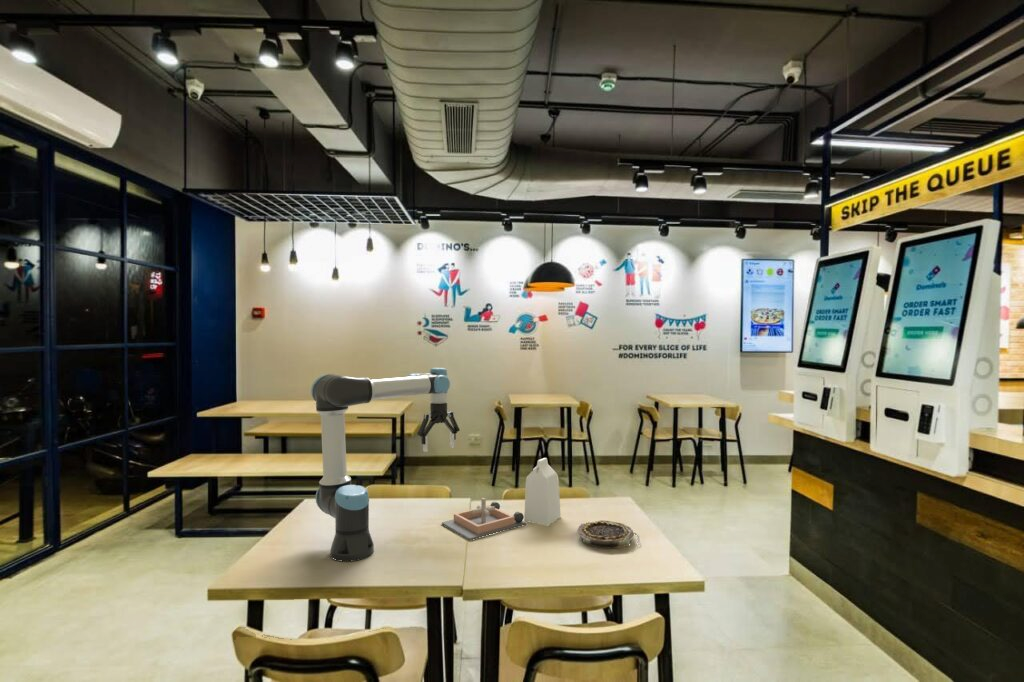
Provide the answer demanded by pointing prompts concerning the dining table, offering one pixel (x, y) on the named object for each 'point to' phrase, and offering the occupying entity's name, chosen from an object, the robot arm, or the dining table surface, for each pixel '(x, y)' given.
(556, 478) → the milk
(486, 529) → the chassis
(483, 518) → the pipe connector
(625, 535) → the pie
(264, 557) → the dining table surface
